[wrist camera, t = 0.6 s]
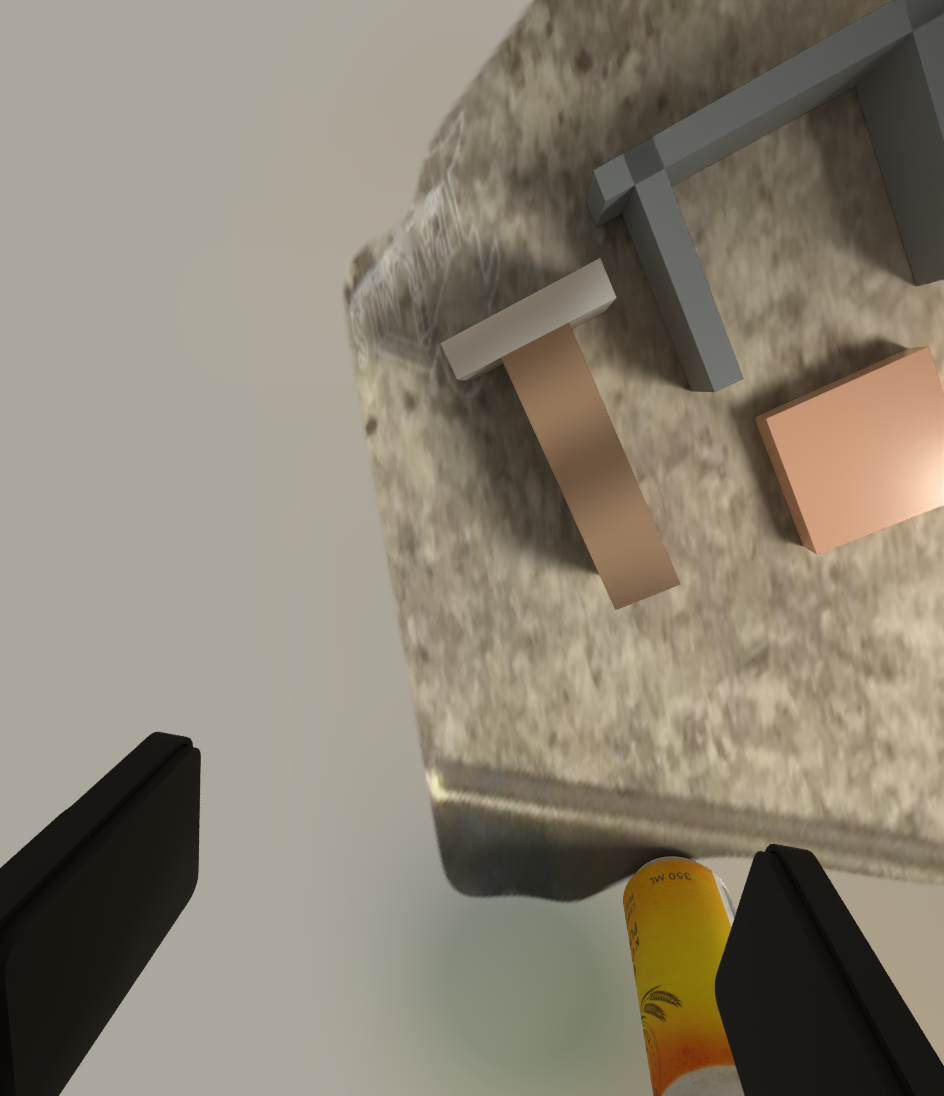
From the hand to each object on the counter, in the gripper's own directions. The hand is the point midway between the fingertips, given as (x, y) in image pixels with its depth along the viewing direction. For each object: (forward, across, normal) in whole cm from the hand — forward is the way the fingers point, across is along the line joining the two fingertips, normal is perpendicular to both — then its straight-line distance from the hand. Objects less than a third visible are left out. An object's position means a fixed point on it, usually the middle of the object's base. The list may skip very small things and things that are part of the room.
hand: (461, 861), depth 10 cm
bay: (+22, -9, -16) cm, 29 cm away
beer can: (+22, -13, +20) cm, 33 cm away
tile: (+22, -16, -7) cm, 28 cm away
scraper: (+22, -3, -5) cm, 23 cm away
